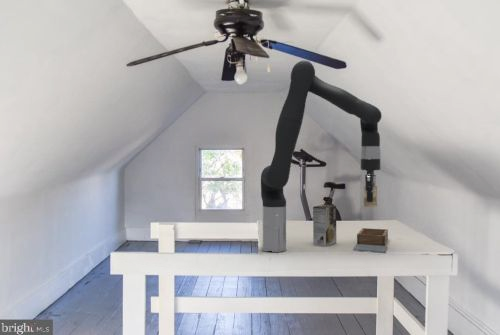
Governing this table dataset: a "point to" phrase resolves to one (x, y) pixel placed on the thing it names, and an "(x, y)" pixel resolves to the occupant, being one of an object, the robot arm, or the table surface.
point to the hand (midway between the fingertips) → (370, 201)
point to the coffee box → (324, 225)
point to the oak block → (374, 202)
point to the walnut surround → (372, 237)
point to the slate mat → (371, 248)
